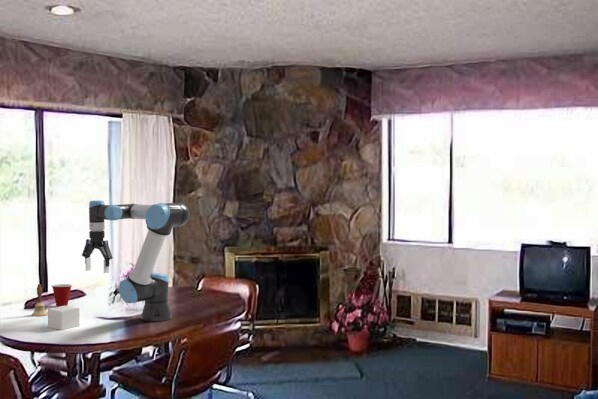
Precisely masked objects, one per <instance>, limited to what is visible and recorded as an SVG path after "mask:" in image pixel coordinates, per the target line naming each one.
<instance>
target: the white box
mask: <svg viewBox="0 0 598 399" xmlns="http://www.w3.org/2000/svg"><path fill="white" fill-rule="evenodd" d="M47 313H48V315H47V328H50V329H56V330H61V331H64V330H68V329H73V328H76V327H80V307H75V306H71V305H67V306H66V305H65V306H60V307H57V306H55V307H52V308H51V307H50V308H47Z"/></svg>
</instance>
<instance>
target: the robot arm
mask: <svg viewBox="0 0 598 399" xmlns="http://www.w3.org/2000/svg"><path fill="white" fill-rule="evenodd" d="M88 214H89V215H88V216H89V217H88V220H89V222H88V226H89V228H88V229H89V232H88V235H89V236H88V237H89V238H87V239H86V240H85V245H84V248H83V251H82V254H81V256H82V257H84V264H85V271H86V272H87V271H91V270H92V265H91V264H92V263H91V262H92V260H91V259H92V258H91V255H92V254H93V252H94V250H95V249H97V250H98V251H99V252H100V253H101V255H102V257H103V259H104V260H103V273H104V274H108V273H110V260H112V259H114V258H113V254H112V252H111V249H110V245H109V241H108V240H104V238H105V229H106V228H105V220H106V221H118V220H127V219H128V220H129V219H130V220H131V219H132V220H145V225H146V228H147V234H146V236H145V238H144V241H143V243H142V245H141V246H142V247H141V249H140V252H139V254H138V257H137V259H136V263H135V266H134V268H133V270H131V271H129V272H128V276H127V278H126V279H124V280H123V279H122V281H120V283H119V285H118V292H119V296H120V297H121V299H122V301H123V302H125V303H127V304H136V303H139V302H144V305H143V308H142V313H141V314H140V315H141V316H140V319H141V320H142V321H145V322H164V321H169V320H171V319H172V312H171V309H170V305H169V277H168V274H166V273H161V272H160V273H159V272H153V271H154V268H155V266H156V262H157V261H158V258H159V255H160V252H161V249H162V246H163V244H164V242H165V240H166V237H168V236H170V235H171V232H172V230H173V228H178V227H182V226H185V225H186V224H187V223H188V221H189V219H190V215H191V214H190V210H189V208H188V206H186V204H184V203H182V202H168V203H166V202H165V203H163V202H161V203H160V202H159V203H156V204H138V203H129V204H126V203H125V204H124V203H123V204H105V200H100V199H99V200H97V199H96V200H90V201H89V204H88Z"/></svg>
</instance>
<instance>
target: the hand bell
mask: <svg viewBox="0 0 598 399" xmlns="http://www.w3.org/2000/svg"><path fill="white" fill-rule="evenodd" d="M36 294H37V304H35V306H34V310H33V311H32V314H31V316H32V317H34V316H35V317H39V318H41V317H46V316H47V317H48V311H47V310H46V307H45V304H44V303H43V302H42V294H43V288H42V284H40V283H39V284H37V287H36Z"/></svg>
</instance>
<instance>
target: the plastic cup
mask: <svg viewBox="0 0 598 399" xmlns="http://www.w3.org/2000/svg"><path fill="white" fill-rule="evenodd" d="M72 286H73V284H66V283H59V284H58V283H57V284H52V285H51V287H52V290H53V296H54V300H55V301H54V302H55V307H60V306H65V305H66V306H69V305H68V304H69V300H70V295H71V294H70V293H71V289H72Z"/></svg>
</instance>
